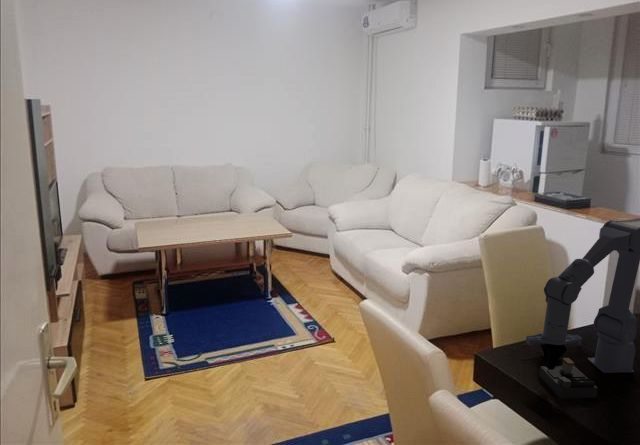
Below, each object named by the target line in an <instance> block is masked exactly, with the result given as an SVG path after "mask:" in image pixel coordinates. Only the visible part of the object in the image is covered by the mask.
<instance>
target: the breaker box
mask: <svg viewBox="0 0 640 445" xmlns="http://www.w3.org/2000/svg"><path fill="white" fill-rule="evenodd" d="M562 366H563V365H556V366H555V368H554V370H549V369H548V368H547V367H546V366H544V365H542V366H541V365H540V368H539V374H538V377H539V378H540V379H541V380H542V381H543V382H544V383H545V384H546V385H547V387H549V388H550V389H551V391H552V392H553V393H554V394H555V395H556V396H557V397H558V398H559V399H593V398H595V399H596V398H597V396H598V391H599V390H598V388H599V387H598V386H597V385H596V382H595V380H592V379H591V378H588V377H587V376H586V375H585V374H584V373H583V372H582V371H581V370H579V368H577V367H576V365H573V367H572V372H573V373H574V374H573V375H564V374H563V373H562V372H561V371H560V369H562Z"/></svg>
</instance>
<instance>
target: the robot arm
mask: <svg viewBox="0 0 640 445" xmlns="http://www.w3.org/2000/svg"><path fill="white" fill-rule="evenodd" d="M613 251H615V252H617V253H618V258H617V263H616V267H615V271H614V277H613V281H612V285H611V286H612V287H611V290H610V295H609V299H608V304H607V305H604V306H602V307H600V308H598V311H597V314H596V316H595V318H594V320H593V329H594V331H596V335H597V336H598V338H597V345H596V349H595V354H594V357H588V358H587V361H589V362H590V363H591V364H592V365H593V366H595V367H596V368H597V369H598V370H599V371H600V372H602V373H604V374H611V373H613V374H614V373H617V374H619V373H635V372H634V369H633V366H634V363H635V362H634V361H635V355H636V346H635V343H634V340H635V338H636V336H637V333H638V332H637V331H638V329H637V323H638V319H637V317H636V316H635V315H634V314H633V312H632V311H631V310H630V305H631V300H632V297H633V292H634V288H635V285H636V284H635V283H636V279H637V275H638V270H639V266H640V227H639V226H635V225H630V224H627V223H623V222H619V221H615V220H613V219H610V220H608V221H606V222H605V223H604V224H603V225H602V227H601V228H600V229H599V234H598V239H597V240H596V242H595V243H594V244H593V245H592V246H591V248H590V249H589V250H588V251H587V252H586V254H584V256H582V258H576V259H574V260H573V261H572V262H571V263H570V264H568V266H567V267H566V268H565V269H564V270H563V271H562V272H561V273H560V274H559V275H558V276H555V277H551V278H549V279H548V280H547V282H546V283H545V286H544V287H543V293H544V295H545V302H546V308H545V309H546V310H545V317H544V324H543V330H542V331H543V332H541V333H537V334H533V335H525V336H526V338H525V343H526V345H528V347H529V346H530V347H531V346H533V345H540V347H541V350H542V353H544V356H543V358H544V365H545V366H546V367H547V368H548V369H549V370H554V368H555V366H557V364H558V362H559V361H560V360H561V359H560V357H561V356H562V357H563V355H564V354H565V353H566V352H567V347H566V346H565V345H572V344H573V345H574V344H575V345H577V346H581V344H582V340H583V339H582V337H581V336H579V334H568V327H569V322H570V316H571V315H570V314H571V310H572V304H573V303H574V302H576V301H577V299H578V297H579V294H580V292H582V291H581V290H582V286H584V285H585V283H586V282H588V281H589V279H591V277H592V276H593V275H594V274H595V267H596V266H597V265H598V264H600V263H601V262H602V261H603V260H604V259H605V258H607V257H608V256H609V255H610V254H611V253H612V252H613ZM559 359H560V360H559Z"/></svg>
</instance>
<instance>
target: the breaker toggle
mask: <svg viewBox="0 0 640 445" xmlns="http://www.w3.org/2000/svg"><path fill="white" fill-rule="evenodd" d="M561 360H562V365H561V366H562V369H560V371H561V372H562V373H563V374H564V375H573V374H574V373H573V372H572V367H573V366H575V362H574V361H573V360H572V359H570V358H569V357H562V358H561Z"/></svg>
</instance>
